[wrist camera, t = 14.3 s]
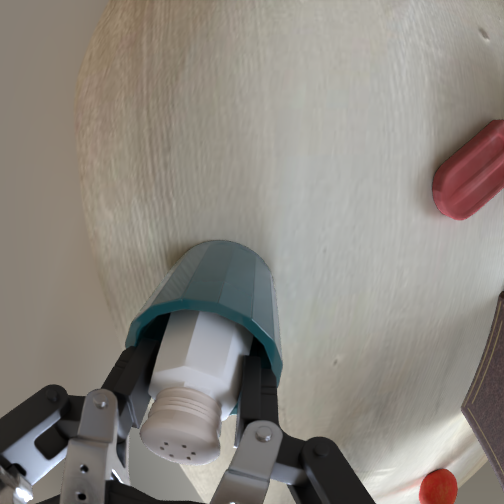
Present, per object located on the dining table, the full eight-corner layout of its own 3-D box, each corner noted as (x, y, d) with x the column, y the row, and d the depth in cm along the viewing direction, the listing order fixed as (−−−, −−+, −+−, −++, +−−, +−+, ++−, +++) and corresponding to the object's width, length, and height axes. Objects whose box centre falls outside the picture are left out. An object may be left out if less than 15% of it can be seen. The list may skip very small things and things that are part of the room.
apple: (409, 488, 34) (420, 524, 24) (422, 473, 31) (435, 514, 21) (441, 475, 33) (454, 509, 23) (455, 458, 31) (471, 496, 21)
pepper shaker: (181, 331, 19) (129, 467, 8) (172, 258, 17) (79, 386, 6) (260, 334, 19) (258, 485, 8) (261, 259, 17) (262, 412, 6)
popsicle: (544, 145, 12) (455, 234, 16) (532, 144, 14) (443, 228, 17) (528, 99, 11) (433, 178, 15) (516, 100, 13) (420, 175, 16)
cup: (158, 306, 20) (115, 378, 12) (195, 220, 18) (149, 268, 10) (245, 346, 21) (238, 430, 13) (294, 270, 19) (313, 344, 11)
